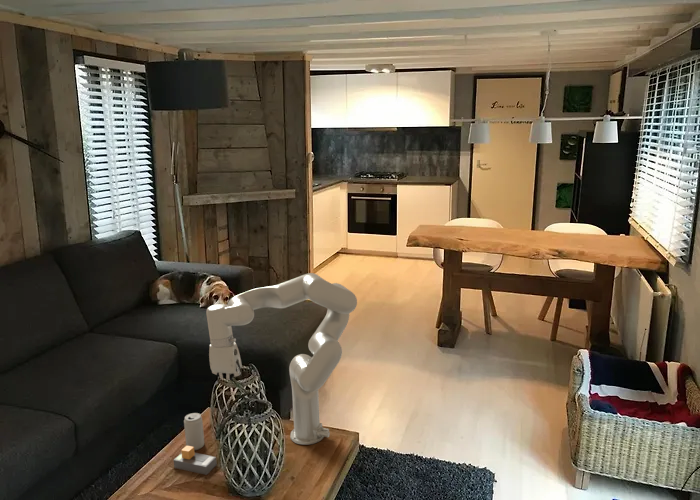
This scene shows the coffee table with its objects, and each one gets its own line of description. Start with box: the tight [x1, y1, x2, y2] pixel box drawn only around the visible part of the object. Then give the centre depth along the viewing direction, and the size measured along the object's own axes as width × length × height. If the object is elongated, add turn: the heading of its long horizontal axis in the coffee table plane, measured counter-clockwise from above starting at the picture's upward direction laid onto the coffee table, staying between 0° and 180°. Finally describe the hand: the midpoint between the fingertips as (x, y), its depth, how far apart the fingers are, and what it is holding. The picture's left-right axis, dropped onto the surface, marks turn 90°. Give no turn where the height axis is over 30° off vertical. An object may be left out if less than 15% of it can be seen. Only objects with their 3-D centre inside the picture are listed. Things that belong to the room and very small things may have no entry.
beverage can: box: [183, 412, 205, 451], centre depth 206 cm, size 6×6×12 cm
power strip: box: [173, 452, 218, 476], centre depth 194 cm, size 13×6×3 cm, turn 69°
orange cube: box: [180, 445, 196, 459], centre depth 194 cm, size 3×3×3 cm
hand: (228, 389), depth 196 cm, fingers closed
